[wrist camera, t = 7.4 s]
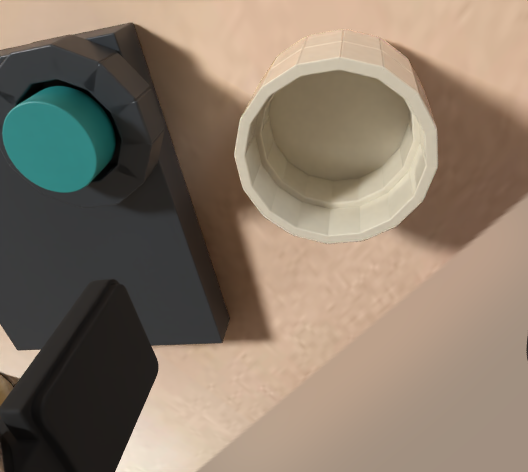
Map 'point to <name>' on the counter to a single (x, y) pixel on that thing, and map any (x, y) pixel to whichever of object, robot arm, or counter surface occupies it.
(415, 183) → the bowl
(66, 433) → the robot arm
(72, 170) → the button
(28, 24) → the counter surface
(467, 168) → the counter surface
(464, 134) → the counter surface
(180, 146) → the counter surface
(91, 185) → the dark grey flat block
